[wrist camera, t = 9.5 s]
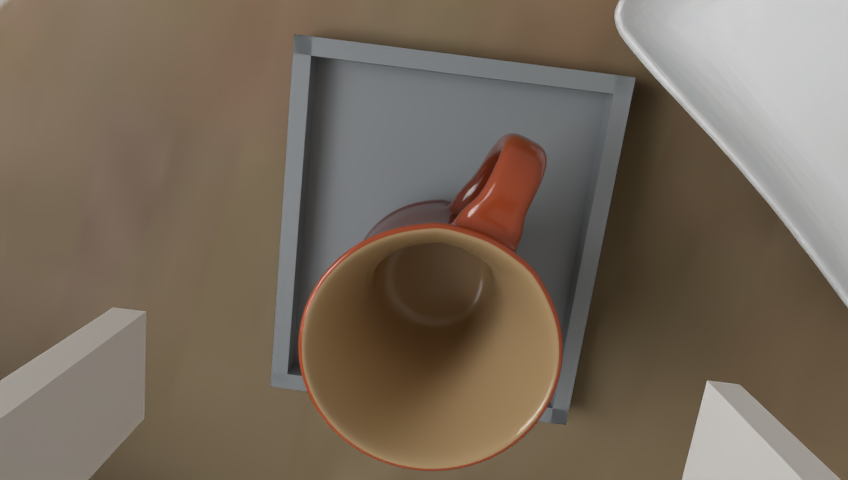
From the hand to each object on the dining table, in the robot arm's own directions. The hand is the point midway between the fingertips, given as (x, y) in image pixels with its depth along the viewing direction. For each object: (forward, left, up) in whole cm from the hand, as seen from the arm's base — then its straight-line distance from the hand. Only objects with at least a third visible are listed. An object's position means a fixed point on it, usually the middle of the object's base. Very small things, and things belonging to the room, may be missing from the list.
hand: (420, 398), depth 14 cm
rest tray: (0, 0, -16) cm, 16 cm away
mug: (+1, 0, -16) cm, 16 cm away
